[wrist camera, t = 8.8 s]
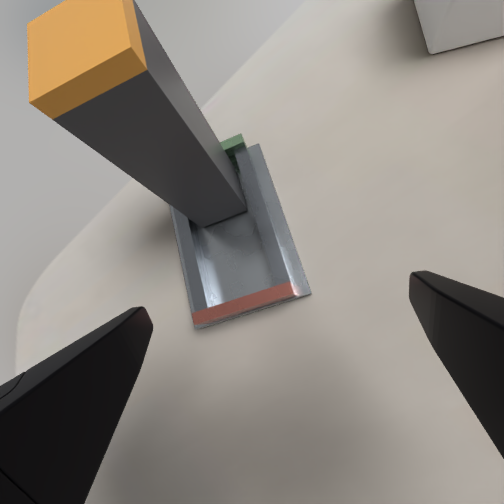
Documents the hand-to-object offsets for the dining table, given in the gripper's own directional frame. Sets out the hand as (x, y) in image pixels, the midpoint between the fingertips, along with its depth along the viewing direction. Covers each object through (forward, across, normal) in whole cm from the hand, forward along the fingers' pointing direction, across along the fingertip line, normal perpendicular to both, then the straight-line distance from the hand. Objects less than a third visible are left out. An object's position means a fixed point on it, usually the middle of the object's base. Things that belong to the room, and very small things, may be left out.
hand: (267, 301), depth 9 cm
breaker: (+14, +4, -1) cm, 14 cm away
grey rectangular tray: (+13, +4, +2) cm, 13 cm away
